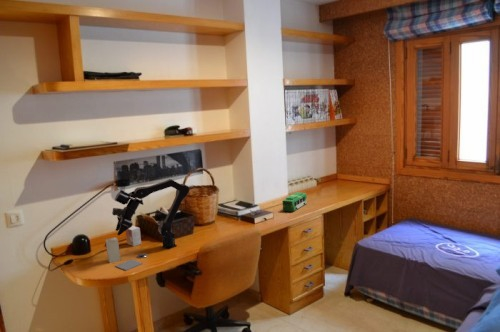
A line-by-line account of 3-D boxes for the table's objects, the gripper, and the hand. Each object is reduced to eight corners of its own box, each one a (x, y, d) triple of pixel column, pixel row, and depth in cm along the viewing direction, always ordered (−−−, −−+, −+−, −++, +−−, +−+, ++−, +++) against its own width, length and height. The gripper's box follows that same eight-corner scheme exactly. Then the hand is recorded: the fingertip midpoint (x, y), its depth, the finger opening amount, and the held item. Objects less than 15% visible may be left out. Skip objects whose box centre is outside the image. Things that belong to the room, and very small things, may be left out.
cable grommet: (143, 253, 231) (143, 252, 231) (149, 255, 227) (149, 254, 227) (134, 256, 227) (134, 256, 227) (140, 258, 223) (140, 258, 223)
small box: (126, 244, 250) (124, 227, 248) (135, 241, 253) (133, 225, 252) (133, 246, 244) (131, 230, 242) (141, 244, 248) (139, 227, 246)
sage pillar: (118, 257, 227) (115, 237, 226) (120, 260, 223) (117, 239, 221) (108, 260, 225) (105, 239, 223) (110, 263, 220) (107, 242, 218)
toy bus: (310, 204, 314) (310, 192, 312) (291, 213, 293) (291, 200, 292) (298, 203, 321) (298, 190, 319) (279, 211, 300) (278, 198, 299)
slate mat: (131, 260, 222) (131, 259, 222) (142, 264, 215) (142, 263, 215) (115, 266, 214) (115, 265, 214) (126, 270, 208) (126, 269, 208)
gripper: (116, 198, 233) (102, 222, 231) (120, 205, 216) (105, 231, 214) (133, 207, 237) (120, 230, 236) (138, 214, 220) (124, 239, 219)
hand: (117, 232), depth 226 cm, fingers open, 9 cm apart
